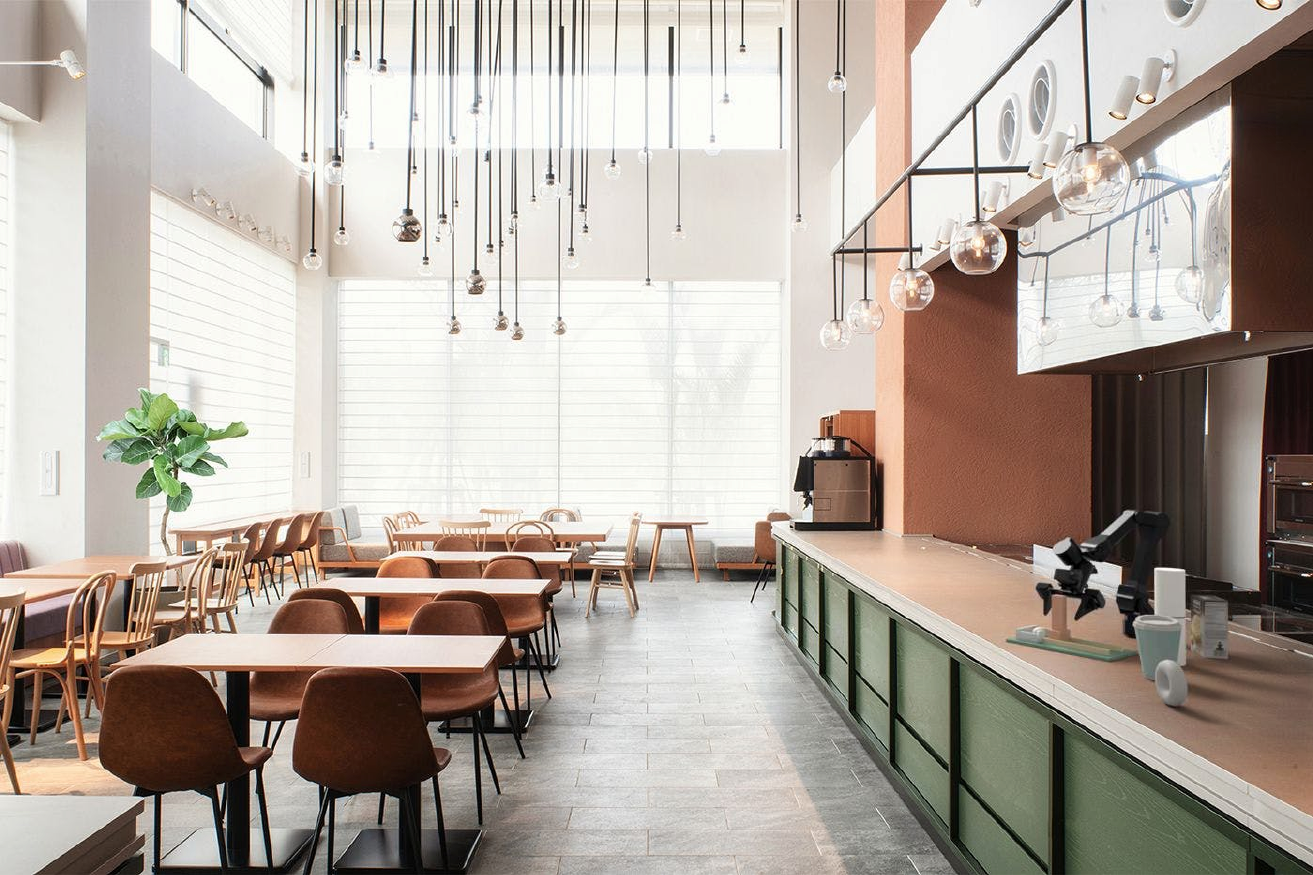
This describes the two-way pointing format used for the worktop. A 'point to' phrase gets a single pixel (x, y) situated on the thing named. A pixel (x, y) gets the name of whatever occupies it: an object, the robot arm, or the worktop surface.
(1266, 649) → the worktop surface
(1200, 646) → the coffee box
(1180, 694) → the donut
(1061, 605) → the player
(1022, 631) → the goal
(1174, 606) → the cylindrical container
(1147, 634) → the disposable coffee cup
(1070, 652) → the board
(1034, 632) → the ball
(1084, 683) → the worktop surface
